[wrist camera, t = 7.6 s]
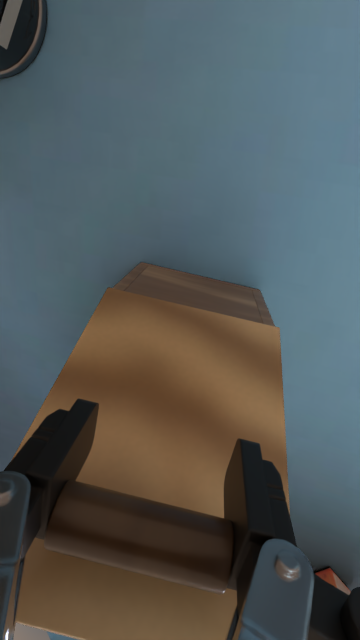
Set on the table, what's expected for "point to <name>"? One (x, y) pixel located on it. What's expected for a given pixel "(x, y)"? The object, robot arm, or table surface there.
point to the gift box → (197, 292)
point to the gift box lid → (153, 472)
